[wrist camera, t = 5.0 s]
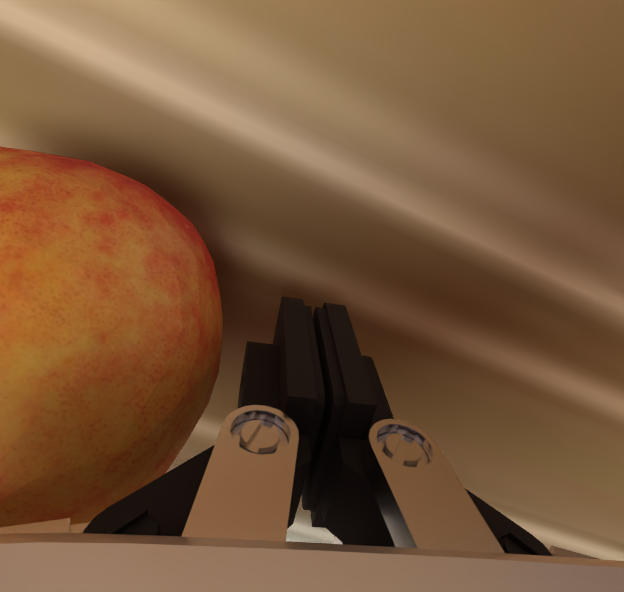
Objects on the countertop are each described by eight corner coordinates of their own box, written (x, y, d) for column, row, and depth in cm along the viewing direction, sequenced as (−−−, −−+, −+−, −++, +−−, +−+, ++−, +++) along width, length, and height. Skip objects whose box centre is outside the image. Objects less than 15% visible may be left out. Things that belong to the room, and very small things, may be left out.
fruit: (-129, 167, 11) (-890, 341, 4) (185, 92, 11) (4, 125, 4) (29, 406, 14) (-210, 726, 7) (267, 353, 14) (259, 631, 7)
